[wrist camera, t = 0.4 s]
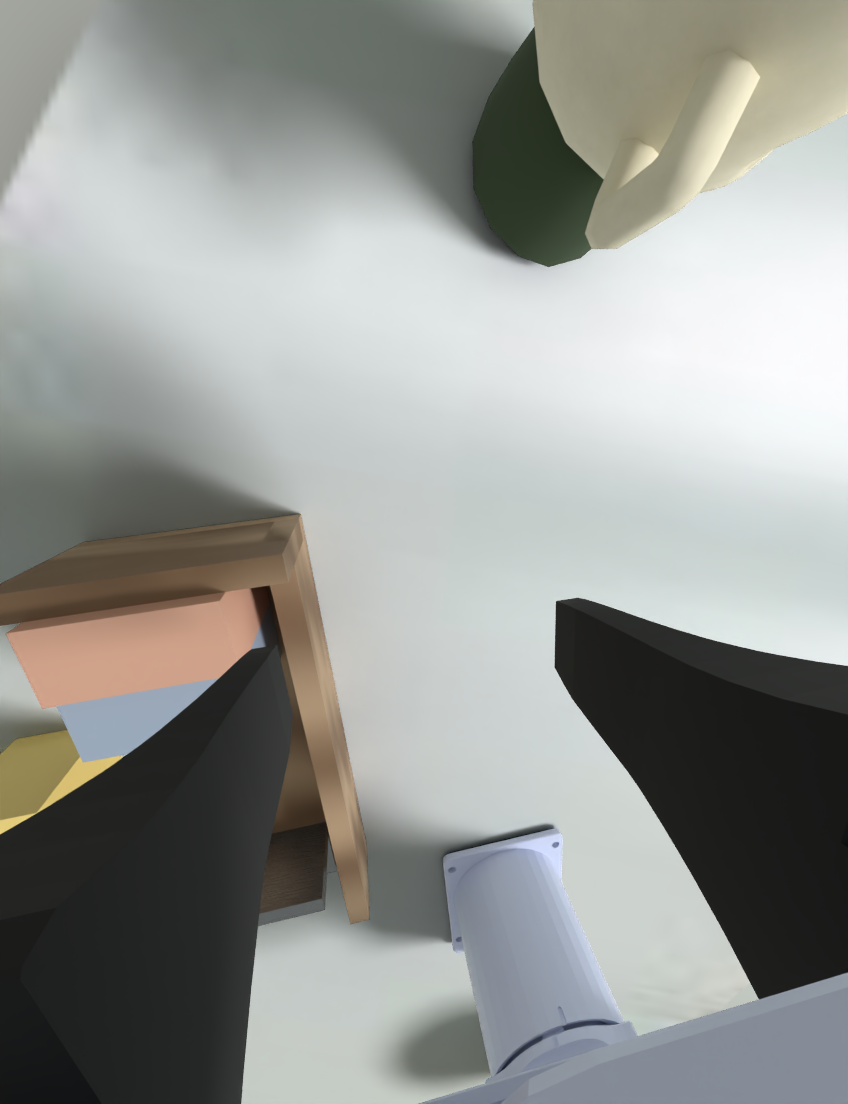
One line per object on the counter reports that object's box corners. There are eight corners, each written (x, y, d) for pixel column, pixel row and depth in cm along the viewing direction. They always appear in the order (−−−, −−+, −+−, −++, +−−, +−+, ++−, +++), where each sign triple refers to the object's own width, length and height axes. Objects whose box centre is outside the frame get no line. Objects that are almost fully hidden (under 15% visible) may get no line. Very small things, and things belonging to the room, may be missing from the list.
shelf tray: (366, 845, 26) (371, 956, 21) (213, 881, 25) (177, 1007, 20) (300, 513, 19) (282, 554, 14) (83, 542, 18) (-29, 598, 13)
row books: (282, 654, 20) (258, 738, 15) (147, 677, 19) (74, 774, 14) (256, 546, 18) (219, 601, 13) (106, 567, 18) (6, 633, 12)
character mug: (556, 358, 19) (944, 266, 7) (408, 279, 17) (563, -62, 5) (688, 71, 16) (1732, -967, 4) (530, -62, 14) (1611, -2872, 2)
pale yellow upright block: (107, 721, 21) (36, 813, 16) (146, 812, 23) (94, 917, 18) (17, 737, 20) (-83, 836, 16) (65, 829, 22) (-10, 941, 18)
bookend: (336, 865, 25) (334, 946, 21) (223, 892, 24) (200, 980, 20) (326, 821, 24) (321, 898, 20) (206, 847, 23) (179, 933, 19)
